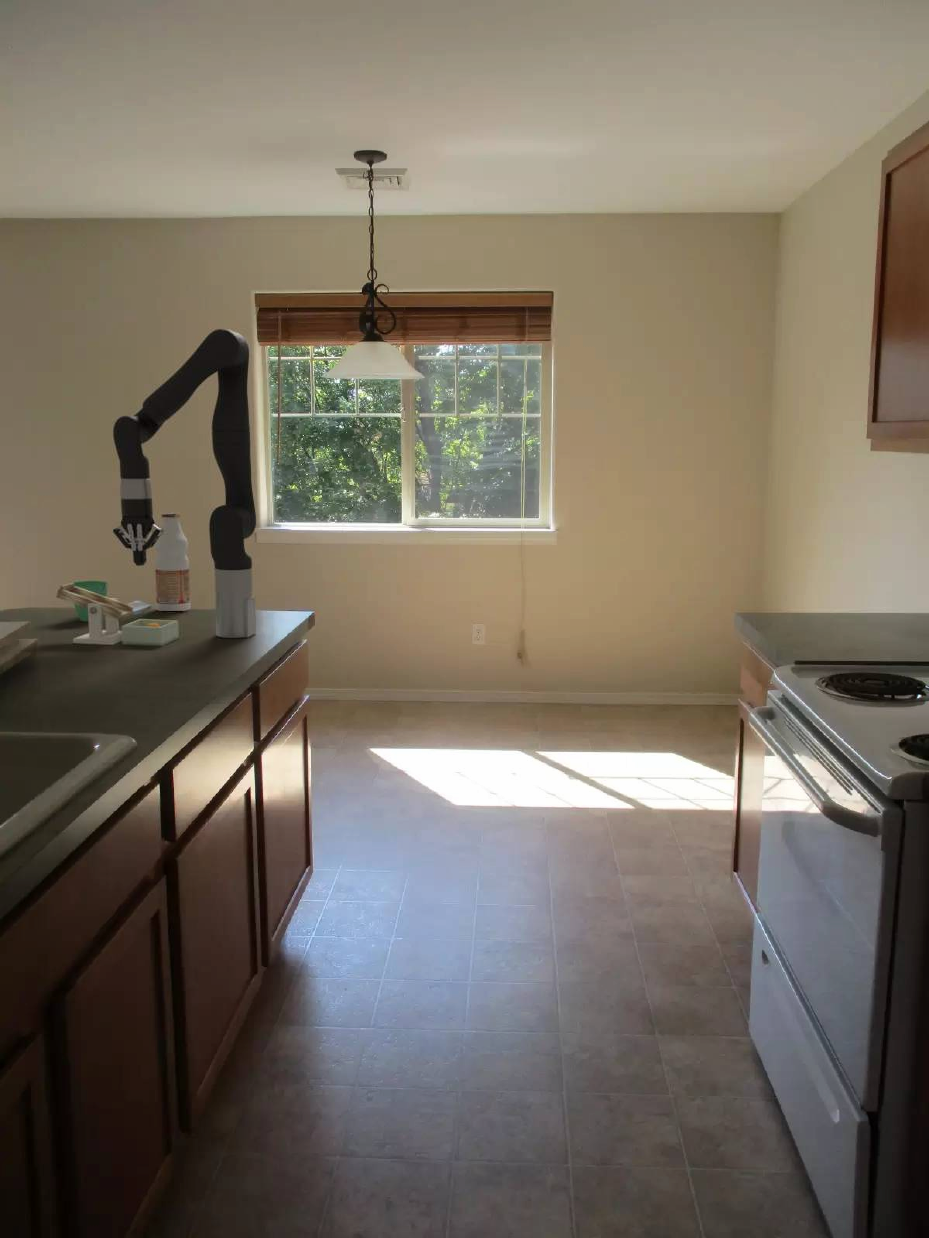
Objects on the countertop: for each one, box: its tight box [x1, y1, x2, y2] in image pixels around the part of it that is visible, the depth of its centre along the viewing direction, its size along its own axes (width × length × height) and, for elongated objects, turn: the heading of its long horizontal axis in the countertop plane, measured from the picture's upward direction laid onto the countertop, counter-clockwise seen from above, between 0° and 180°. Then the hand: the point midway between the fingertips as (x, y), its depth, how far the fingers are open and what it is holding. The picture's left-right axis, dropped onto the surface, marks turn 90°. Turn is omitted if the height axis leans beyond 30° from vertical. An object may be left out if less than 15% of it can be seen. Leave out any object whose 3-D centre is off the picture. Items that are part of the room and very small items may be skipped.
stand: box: [72, 597, 122, 646], centre depth 248 cm, size 10×12×10 cm
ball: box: [146, 623, 160, 627], centre depth 247 cm, size 4×4×4 cm
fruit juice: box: [154, 512, 191, 612], centre depth 289 cm, size 9×9×28 cm
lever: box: [56, 582, 153, 620], centre depth 252 cm, size 17×17×3 cm
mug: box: [72, 580, 109, 622], centre depth 275 cm, size 15×10×10 cm
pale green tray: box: [121, 618, 180, 647], centre depth 247 cm, size 10×10×4 cm
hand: (140, 565), depth 256 cm, fingers closed
